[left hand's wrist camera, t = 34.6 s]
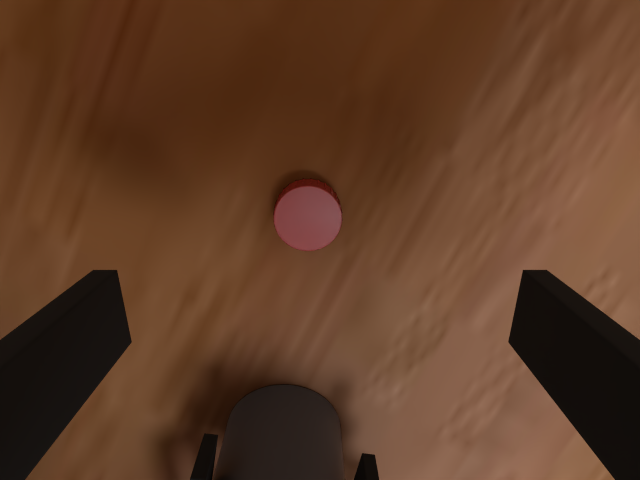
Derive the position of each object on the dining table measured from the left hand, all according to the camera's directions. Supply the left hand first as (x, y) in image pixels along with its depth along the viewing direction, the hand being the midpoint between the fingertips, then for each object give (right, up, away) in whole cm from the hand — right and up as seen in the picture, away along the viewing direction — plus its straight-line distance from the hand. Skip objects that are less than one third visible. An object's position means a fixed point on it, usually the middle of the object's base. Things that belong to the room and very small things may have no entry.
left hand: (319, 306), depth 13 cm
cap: (-1, +3, +8) cm, 9 cm away
